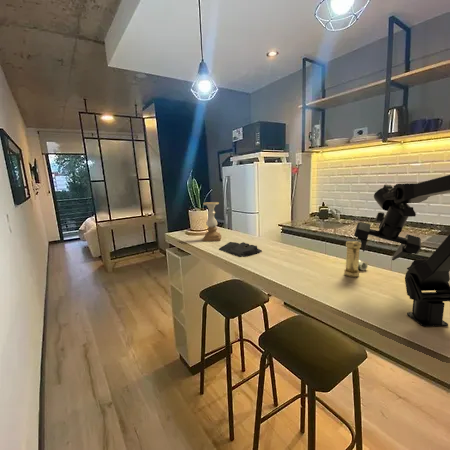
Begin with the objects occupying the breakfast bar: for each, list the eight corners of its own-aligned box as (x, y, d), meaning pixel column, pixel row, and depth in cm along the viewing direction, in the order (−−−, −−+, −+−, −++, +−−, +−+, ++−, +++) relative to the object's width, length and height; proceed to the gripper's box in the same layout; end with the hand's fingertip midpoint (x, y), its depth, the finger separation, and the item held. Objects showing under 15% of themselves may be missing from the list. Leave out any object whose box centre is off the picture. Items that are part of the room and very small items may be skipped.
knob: (359, 277, 100) (361, 244, 98) (344, 276, 102) (346, 243, 100) (358, 273, 105) (360, 241, 103) (343, 272, 107) (345, 240, 105)
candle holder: (220, 241, 166) (218, 203, 162) (202, 241, 167) (201, 203, 163) (221, 237, 177) (220, 201, 173) (205, 237, 178) (203, 202, 174)
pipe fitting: (353, 273, 107) (367, 270, 109) (353, 264, 106) (367, 261, 108) (340, 267, 115) (353, 264, 116) (340, 258, 114) (353, 255, 116)
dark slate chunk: (237, 245, 156) (237, 237, 155) (264, 253, 139) (264, 244, 138) (216, 250, 147) (216, 242, 146) (242, 259, 130) (242, 249, 129)
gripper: (429, 214, 84) (408, 249, 94) (365, 199, 91) (352, 233, 101) (430, 234, 77) (408, 270, 86) (361, 216, 84) (347, 251, 94)
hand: (377, 255), depth 92 cm, fingers open, 9 cm apart
